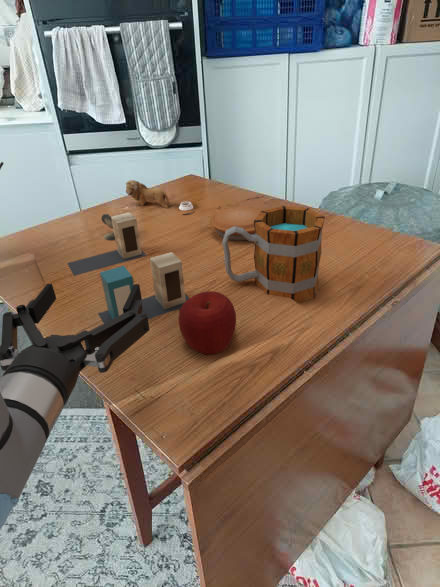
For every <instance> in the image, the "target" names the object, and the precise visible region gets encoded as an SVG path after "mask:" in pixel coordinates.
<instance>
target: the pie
mask: <svg viewBox="0 0 440 587" xmlns="http://www.w3.org/2000/svg"><path fill="white" fill-rule="evenodd" d="M261 211H262V210H260V209H258V208H256V207H251V206H232V207H227V208H224V209H221V210H219V211H217V212H215V213H214V214H212V215H211V217H210V219H209V222H210V225H211V226H212V227H213V228H214V229H215V231H216V232H217V233H218V234H219V236H220V237H221V238H222V239H223V238H224V235H225V232H226V230H228V229H230V228H232V227H234V226H236V227H240V228H243V229H244V230H245V231H247V232H248V233H249V234H251V235H255V227H254V220H255V219H256V217H257V216H258V215H259V213H260V212H261ZM228 241H235V242H244V241H248V240H247V239H246V238H244V237H243V236H242V235H240V234H238V233H234V234H232V235H230V236H229V238H228Z"/></svg>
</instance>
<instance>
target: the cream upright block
mask: <svg viewBox="0 0 440 587" xmlns="http://www.w3.org/2000/svg"><path fill="white" fill-rule="evenodd" d="M149 262H150V270H151V275H152V283H153V288H154V289H153V291H154V295H155V296H156V299H157V300H158V302H159V303H160V304H161V305H162V307H163V308H164V309H167V308H170V307H173V306H176V305H179V304H182V303H185V302H186V298H185V294H186V289H185V288H186V287H185V278H184V269H183V260H181V259H180V258H179V257H178V256H177V255H176V254H175V253H174V252H172V251H171V252H167V253H164V254H163V253H162V254H160V255H156V256H152V257H149Z"/></svg>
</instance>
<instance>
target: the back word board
mask: <svg viewBox="0 0 440 587" xmlns="http://www.w3.org/2000/svg"><path fill="white" fill-rule="evenodd" d="M141 251H142V254H141V255H137V256H133V257H130V258H126V259H123V258H122V256H121V255H120V254H119V253H118V251H117V249H114V250H110V251H107V252H103V253H100V254H96V255H92V256H88V257H84V258H80V259H77V260H73V261H69V262H67V263H66V264H67V266H68V267H69V269H70V271H71V274H72V275H73V276H75V277H76V276H79V275H83V274H86V273H89V272H93V271H97V270H100V269H105V268H108V267H111V266H114V265H120V264H122V263H125V262H130V261H133V260H136V259H140V258H143V257H146V256H147V254H146V253H145V252H144V251H143V249H141Z"/></svg>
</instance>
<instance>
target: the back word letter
mask: <svg viewBox="0 0 440 587" xmlns="http://www.w3.org/2000/svg"><path fill="white" fill-rule="evenodd" d="M110 217H111V219H112V225H113V229H112V230H113V232H114V235H115V239H114V241H115V245H116V250H117V251H118V253H119V254H120V255H121V256H122V258H123V259H126V258H130V257H133V256H137V255H141V254H142V251H143V250H142V246H141V239H140V232H139V227H138V221H137V218H136V216H134V214H132V213H131V212H129V211H128V212H125V213H120V214H116V215H111V216H110ZM141 250H142V251H141Z"/></svg>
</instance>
